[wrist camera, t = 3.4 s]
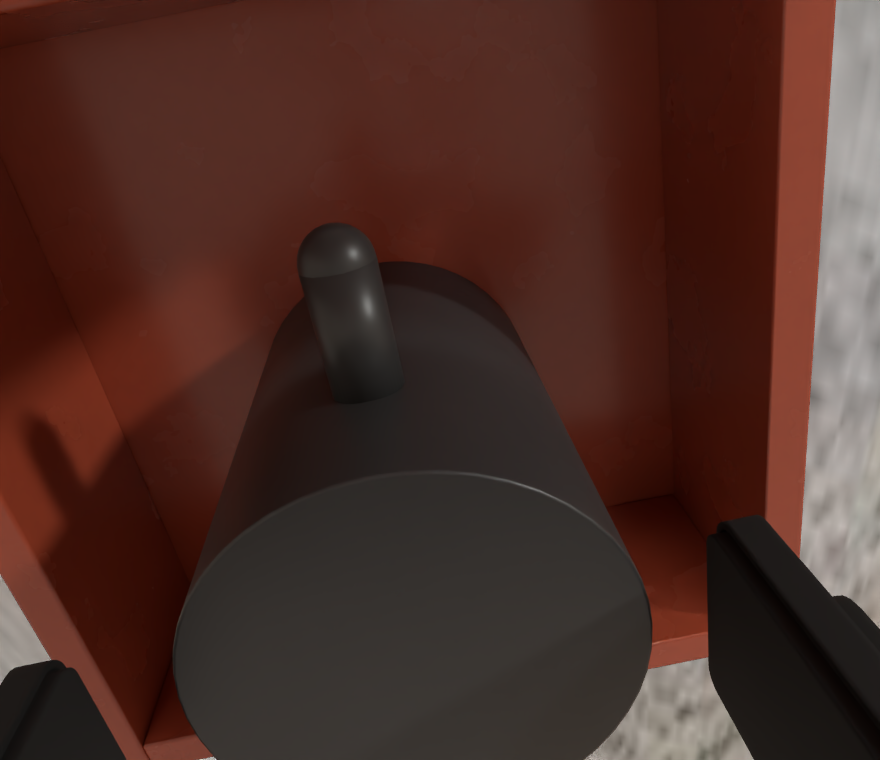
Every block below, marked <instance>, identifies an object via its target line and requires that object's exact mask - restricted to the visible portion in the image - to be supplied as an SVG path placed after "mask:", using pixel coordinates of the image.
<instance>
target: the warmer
mask: <svg viewBox="0 0 880 760" xmlns="http://www.w3.org/2000/svg"><path fill="white" fill-rule="evenodd" d="M835 7H836V0H0V575H1V576H2V578H3V580H4V581H5V583H6V585H7V586H8V588H9V590H10V591H11V593H12V595H13V596H14V598H15V600H16V601H17V603H18V605H19V606H20V608H21V610H22V611H23V613H24V615H25V616H26V618H27V620H28V622H29V623H30V625H31V627H32V628H33V630H34V632H35V633H36V635H37V637H38V638H39V640H40V642H41V643H42V645H43V647H44V648H45V650H46V652H47V653H48V655H49V657H50V658H51V660H59V661H61V662H62V663H63V664H64V665H65V666H66V668H68V667H72V668H74V669H75V670H76V671H77V672H78V674H79V676H80V678H81V679H82V681H83V683H84V685H85V686H86V688H87V690H88V692H89V694H90V695H91V697H92V699H93V701H94V702H95V704H96V706H97V708H98V710H99V711H100V713H101V715H102V717H103V718H104V720H105V722H106V724H107V726H108V727H109V729H110V731H111V733H112V734H113V736H114V738H115V740H116V741H117V743H118V745H119V747H120V749H121V750H122V752H123V754H124V756H125V757H126V759H127V760H199V759H204V758H209V757H214V756H213V755H212V754H211V753H210V752H209V750H208V749H207V748H206V747H205V746H204V745H203V743H202V742H201V741H200V740H199V738H198V737H197V735H196V734H195V732H194V730H193V729H192V727H191V725H190V724H189V722H188V720H187V719H186V716H185V714H184V711H183V709H182V706H181V704H180V701H179V698H178V694H177V689H176V685H175V680H174V675H173V644H174V639H175V633H176V627H177V623H178V620H179V617H180V614H181V611H182V608H183V605H184V602H185V599H186V596H187V593H188V590H189V587H190V584H191V581H192V579H193V576H194V573H195V570H196V567H197V564H198V561H199V558H200V555H201V552H202V549H203V546H204V543H205V540H206V537H207V534H208V531H209V528H210V525H211V522H212V520H213V517H214V514H215V511H216V508H217V505H218V502H219V499H220V496H221V493H222V490H223V487H224V484H225V481H226V478H227V475H228V472H229V469H230V466H231V464H232V461H233V458H234V455H235V452H236V449H237V446H238V443H239V440H240V437H241V434H242V431H243V428H244V425H245V422H246V419H247V416H248V413H249V410H250V407H251V405H252V402H253V399H254V396H255V393H256V390H257V387H258V384H259V381H260V378H261V375H262V372H263V369H264V366H265V363H266V360H267V357H268V354H269V351H270V349H271V346H272V343H273V340H274V338H275V335H276V334H277V332H278V330H279V328H280V326H281V324H282V322H283V321H284V319H285V318H286V317H287V315H288V314H289V313H290V311H291V310H292V309H293V307H294V306H295V305H296V304H297V303H298V302H299V301H300V300H301V299H302V298H303V297H304V292H303V289H302V285H301V282H300V278H299V275H298V270H297V254H298V250H299V247H300V245H301V243H302V241H303V240H304V238H305V237H306V236H307V234H309V233H310V232H311V231H312V230H313V229H315V228H317V227H319V226H321V225H323V224H327V223H344V224H349V225H351V226H353V227H355V228H357V229H359V230H360V231H361V232H363V233H364V234H365V235H366V236H367V237H368V239H369V240H370V241H371V243H372V245H373V247H374V249H375V252H376V255H377V260H378V263H381V262H393V261H407V262H415V263H424V264H428V265H432V266H436V267H440V268H443V269H446V270H448V271H451V272H453V273H456V274H458V275H460V276H462V277H464V278H466V279H467V280H469V281H471V282H473V283H474V284H476V285H477V286H478V287H480V288H481V289H482V290H484V291H485V292H486V293H488V294H489V295H490V296H491V297H492V298H493V299H494V300H495V301H496V302H497V303H498V304H499V305H500V307H501V308H502V309H503V311H504V312H505V313H506V315H507V316H508V317H509V319H510V320H511V322H512V324H513V326H514V328H515V330H516V331H517V333H518V335H519V337H520V339H521V341H522V343H523V345H524V347H525V349H526V351H527V353H528V355H529V357H530V359H531V361H532V363H533V365H534V367H535V369H536V371H537V373H538V375H539V377H540V379H541V381H542V383H543V385H544V387H545V389H546V391H547V393H548V395H549V396H550V398H551V400H552V402H553V404H554V406H555V408H556V410H557V412H558V414H559V416H560V418H561V420H562V422H563V424H564V426H565V428H566V430H567V432H568V434H569V436H570V438H571V440H572V442H573V444H574V446H575V448H576V450H577V452H578V454H579V456H580V458H581V460H582V462H583V464H584V466H585V468H586V470H587V472H588V473H589V475H590V477H591V479H592V481H593V483H594V485H595V487H596V489H597V491H598V493H599V495H600V497H601V499H602V501H603V503H604V505H605V507H606V509H607V511H608V513H609V515H610V517H611V519H612V521H613V523H614V525H615V527H616V529H617V531H618V533H619V535H620V537H621V539H622V541H623V543H624V545H625V547H626V549H627V550H628V552H629V554H630V556H631V558H632V560H633V562H634V564H635V566H636V568H637V570H638V572H639V574H640V576H641V578H642V581H643V584H644V587H645V590H646V593H647V596H648V598H649V602H650V609H651V616H652V622H653V630H652V650H651V655H650V660H649V665H648V669H651V668H656V667H661V666H666V665H671V664H676V663H681V662H686V661H691V660H696V659H701V658H706V657H708V607H707V554H706V541H707V537H708V535H711V534H716V531H717V526H718V523H720V522H723V521H728V520H733V519H738V518H743V517H748V516H752V515H760V516H762V517H763V518H764V519H765V520H766V521H767V522H768V523H769V524H770V525H771V526H772V528H773V529H774V530H775V531H776V532H777V533H778V535H779V536H780V537H781V538H782V539H783V540H784V541H785V543H786V544H787V545H788V546H789V547H790V548H791V550H792V551H793V552H794V553H795V554H796V555H797V557H798V558H799V557H800V542H801V527H802V512H803V496H804V481H805V466H806V450H807V435H808V420H809V405H810V389H811V374H812V359H813V343H814V328H815V313H816V297H817V282H818V267H819V252H820V236H821V221H822V206H823V190H824V175H825V160H826V144H827V129H828V114H829V99H830V83H831V68H832V53H833V37H834V22H835Z"/></svg>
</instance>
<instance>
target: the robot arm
mask: <svg viewBox="0 0 880 760" xmlns="http://www.w3.org/2000/svg"><path fill="white" fill-rule="evenodd" d="M706 554H707V607H708V661H709V671H710V675H711V679H712V682H713V684H714V687H715V689H716V691H717V693H718V695H719V697H720V699H721V700H722V702H723V704H724V706H725V708H726V709H727V711H728V713H729V715H730V717H731V719H732V720H733V722H734V724H735V726H736V728H737V729H738V731H739V733H740V735H741V737H742V739H743V740H744V742H745V744H746V746H747V748H748V749H749V751H750V753H751V755H752V757H753V759H754V760H880V629H879V628H878V627H877V626H876V625H875V623H874V622H873V621H872V620H871V619H870V618H869V617H868V616H867V615H866V613H865V612H864V611H863V610H862V609H861V608H860V607H859V606H858V605H857V604H856V603H855V602H853V601H852V600H851V599H849V598H847V597H845V596H843V595H842V596H834V597H832V596H831V595H830V594H829V592H828V591H827V590H826V589H825V588H824V587H823V585H822V584H821V583H820V582H819V581H818V580H817V579H816V577H815V576H814V575H813V574H812V573H811V572H810V570H809V569H808V568H807V567H806V566H805V565H804V563H803V562H802V561H801V560H800V559H799V558H798V557H797V555H796V554H795V553H794V552H793V551H792V550H791V548H790V547H789V546H788V545H787V544H786V543H785V541H784V540H783V539H782V538H781V537H780V536H779V535H778V533H777V532H776V531H775V530H774V529H773V528H772V526H771V525H770V524H769V523H768V522H767V521H766V520H765V519H764V518H763V517H762V516H760V515H752V516H748V517H743V518H738V519H733V520H728V521H723V522H720V523H718V526H717V531H716V534H711V535H708V537H707V541H706ZM0 760H127V759H126V757H125V756H124V754H123V752H122V750H121V749H120V747H119V745H118V743H117V741H116V740H115V738H114V736H113V734H112V733H111V731H110V729H109V727H108V726H107V724H106V722H105V720H104V718H103V717H102V715H101V713H100V711H99V710H98V708H97V706H96V704H95V702H94V701H93V699H92V697H91V695H90V694H89V692H88V690H87V688H86V686H85V685H84V683H83V681H82V679H81V678H80V676H79V674H78V672H77V671H76V670H75V669H74V668H72V667H68V668H66V666H65V665H64V664H63V663H62V662H61V661H59V660H50V661H45V662H40V663H36V664H31V665H26V666H21V667H16V668H14V669H13V670H11V671H10V672H9V673H8V674H7V676H6V677H5V678H4V680H3V682H2V683H1V685H0Z"/></svg>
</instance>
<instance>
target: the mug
mask: <svg viewBox="0 0 880 760" xmlns="http://www.w3.org/2000/svg"><path fill="white" fill-rule="evenodd" d="M297 270H298V275H299V278H300V282H301V285H302V289H303V292H304V297H303V298H302V299H301V300H300V301H299V302H298V303H297V304H296V305H295V306H294V307H293V309H292V310H291V311H290V313H289V314H288V315H287V317H286V318H285V319H284V321H283V322H282V324H281V326H280V328H279V330H278V332H277V334H276V335H275V338H274V340H273V343H272V346H271V349H270V351H269V354H268V357H267V360H266V363H265V366H264V369H263V372H262V375H261V378H260V381H259V384H258V387H257V390H256V393H255V396H254V399H253V402H252V405H251V407H250V410H249V413H248V416H247V419H246V422H245V425H244V428H243V431H242V434H241V437H240V440H239V443H238V446H237V449H236V452H235V455H234V458H233V461H232V464H231V466H230V469H229V472H228V475H227V478H226V481H225V484H224V487H223V490H222V493H221V496H220V499H219V502H218V505H217V508H216V511H215V514H214V517H213V520H212V522H211V525H210V528H209V531H208V534H207V537H206V540H205V543H204V546H203V549H202V552H201V555H200V558H199V561H198V564H197V567H196V570H195V573H194V576H193V579H192V581H191V584H190V587H189V590H188V593H187V596H186V599H185V602H184V605H183V608H182V611H181V614H180V617H179V620H178V623H177V627H176V633H175V639H174V644H173V675H174V680H175V685H176V689H177V694H178V698H179V701H180V704H181V706H182V709H183V711H184V714H185V716H186V719H187V720H188V722H189V724H190V725H191V727H192V729H193V730H194V732H195V734H196V735H197V737H198V738H199V740H200V741H201V742H202V743H203V745H204V746H205V747H206V748H207V749H208V750H209V752H210V753H211V754H212V755H213V756H214V757H215V758H216V759H217V760H584V759H585V758H587V757H588V756H589V755H590V754H591V753H592V752H594V751H595V750H596V749H597V748H598V747H599V746H600V745H601V744H602V743H603V742H604V741H605V740H606V739H607V738H608V737H609V736H610V735H611V734H612V733H613V731H614V730H615V729H616V728H617V726H618V725H619V724H620V722H621V721H622V720H623V718H624V717H625V715H626V714H627V713H628V711H629V710H630V708H631V706H632V704H633V702H634V700H635V699H636V697H637V695H638V693H639V691H640V689H641V686H642V683H643V681H644V678H645V675H646V673H647V670H648V665H649V660H650V655H651V650H652V630H653V622H652V616H651V609H650V602H649V598H648V596H647V593H646V590H645V587H644V584H643V581H642V578H641V576H640V574H639V572H638V570H637V568H636V566H635V564H634V562H633V560H632V558H631V556H630V554H629V552H628V550H627V549H626V547H625V545H624V543H623V541H622V539H621V537H620V535H619V533H618V531H617V529H616V527H615V525H614V523H613V521H612V519H611V517H610V515H609V513H608V511H607V509H606V507H605V505H604V503H603V501H602V499H601V497H600V495H599V493H598V491H597V489H596V487H595V485H594V483H593V481H592V479H591V477H590V475H589V473H588V472H587V470H586V468H585V466H584V464H583V462H582V460H581V458H580V456H579V454H578V452H577V450H576V448H575V446H574V444H573V442H572V440H571V438H570V436H569V434H568V432H567V430H566V428H565V426H564V424H563V422H562V420H561V418H560V416H559V414H558V412H557V410H556V408H555V406H554V404H553V402H552V400H551V398H550V396H549V395H548V393H547V391H546V389H545V387H544V385H543V383H542V381H541V379H540V377H539V375H538V373H537V371H536V369H535V367H534V365H533V363H532V361H531V359H530V357H529V355H528V353H527V351H526V349H525V347H524V345H523V343H522V341H521V339H520V337H519V335H518V333H517V331H516V330H515V328H514V326H513V324H512V322H511V320H510V319H509V317H508V316H507V315H506V313H505V312H504V311H503V309H502V308H501V307H500V305H499V304H498V303H497V302H496V301H495V300H494V299H493V298H492V297H491V296H490V295H489V294H488V293H486V292H485V291H484V290H482V289H481V288H480V287H478V286H477V285H476V284H474V283H473V282H471V281H469V280H467V279H466V278H464V277H462V276H460V275H458V274H456V273H453V272H451V271H448V270H446V269H443V268H440V267H436V266H432V265H428V264H424V263H415V262H407V261H393V262H381V263H378V260H377V255H376V252H375V249H374V247H373V245H372V243H371V241H370V240H369V239H368V237H367V236H366V235H365V234H364V233H363V232H361V231H360V230H359V229H357V228H355V227H353V226H351V225H349V224H344V223H327V224H323V225H321V226H319V227H317V228H315V229H313V230H312V231H311V232H310V233H309V234H307V236H306V237H305V238H304V240H303V241H302V243H301V245H300V247H299V250H298V254H297Z"/></svg>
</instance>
